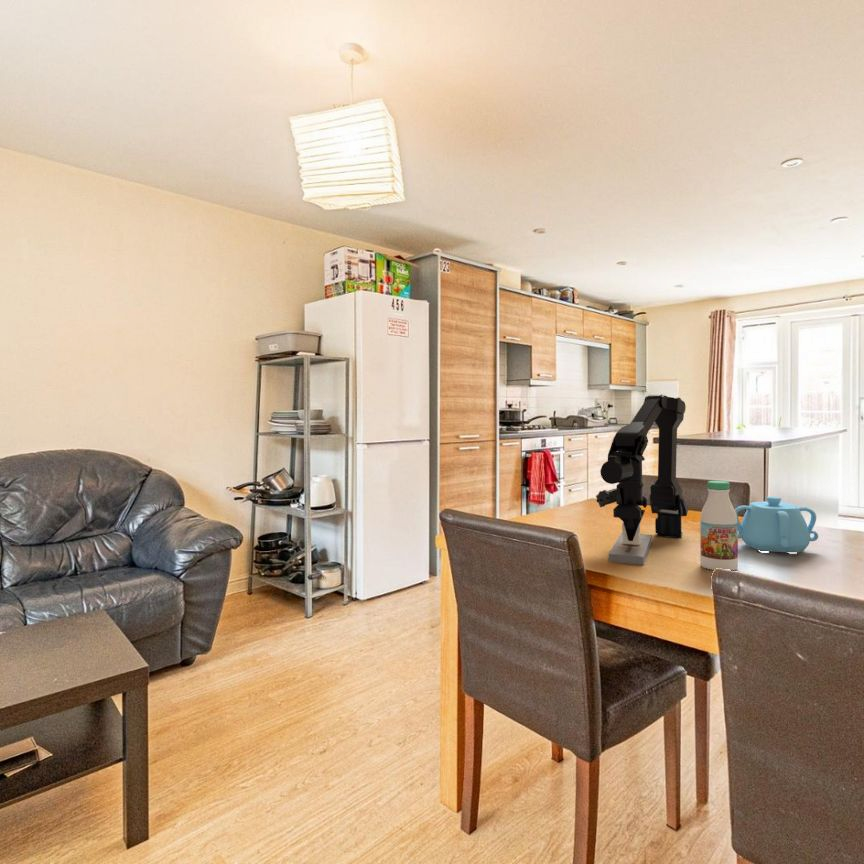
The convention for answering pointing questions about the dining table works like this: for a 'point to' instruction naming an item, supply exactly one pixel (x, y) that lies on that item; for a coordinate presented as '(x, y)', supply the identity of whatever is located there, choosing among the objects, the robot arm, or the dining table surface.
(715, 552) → the milk bottle
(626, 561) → the console
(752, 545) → the decorative pot
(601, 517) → the dining table surface
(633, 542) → the fader cap
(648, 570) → the dining table surface
